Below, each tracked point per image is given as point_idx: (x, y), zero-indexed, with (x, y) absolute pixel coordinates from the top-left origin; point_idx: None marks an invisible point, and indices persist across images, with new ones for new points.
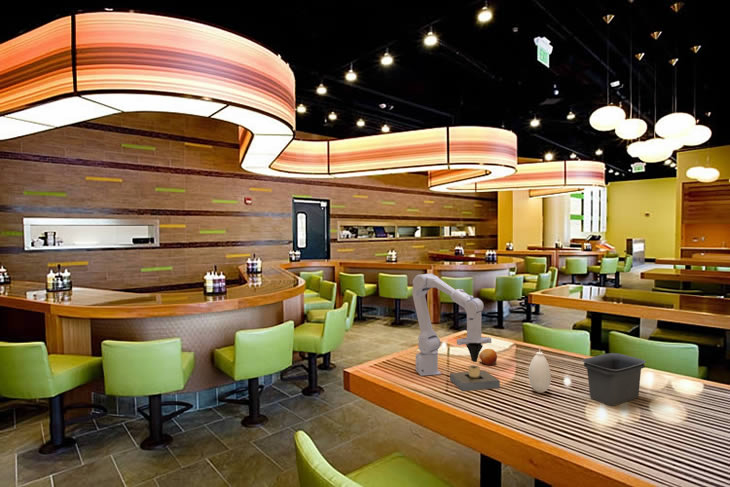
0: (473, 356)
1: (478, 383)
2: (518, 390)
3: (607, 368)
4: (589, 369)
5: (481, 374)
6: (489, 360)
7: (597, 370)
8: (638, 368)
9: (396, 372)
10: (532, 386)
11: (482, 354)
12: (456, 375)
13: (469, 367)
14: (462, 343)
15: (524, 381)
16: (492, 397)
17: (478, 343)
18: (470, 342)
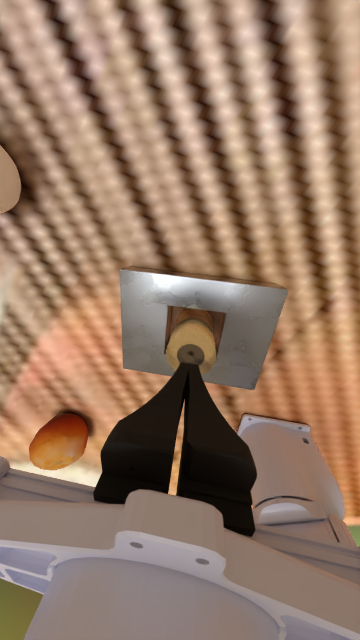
0: (204, 385)
1: (213, 279)
2: (78, 222)
3: None
4: None
5: (154, 343)
6: (69, 424)
7: None
8: None
9: (353, 464)
10: (15, 175)
11: (74, 452)
12: (247, 365)
13: (214, 358)
14: (339, 560)
15: (28, 288)
16: (210, 186)
17: (128, 492)
18: (284, 555)
